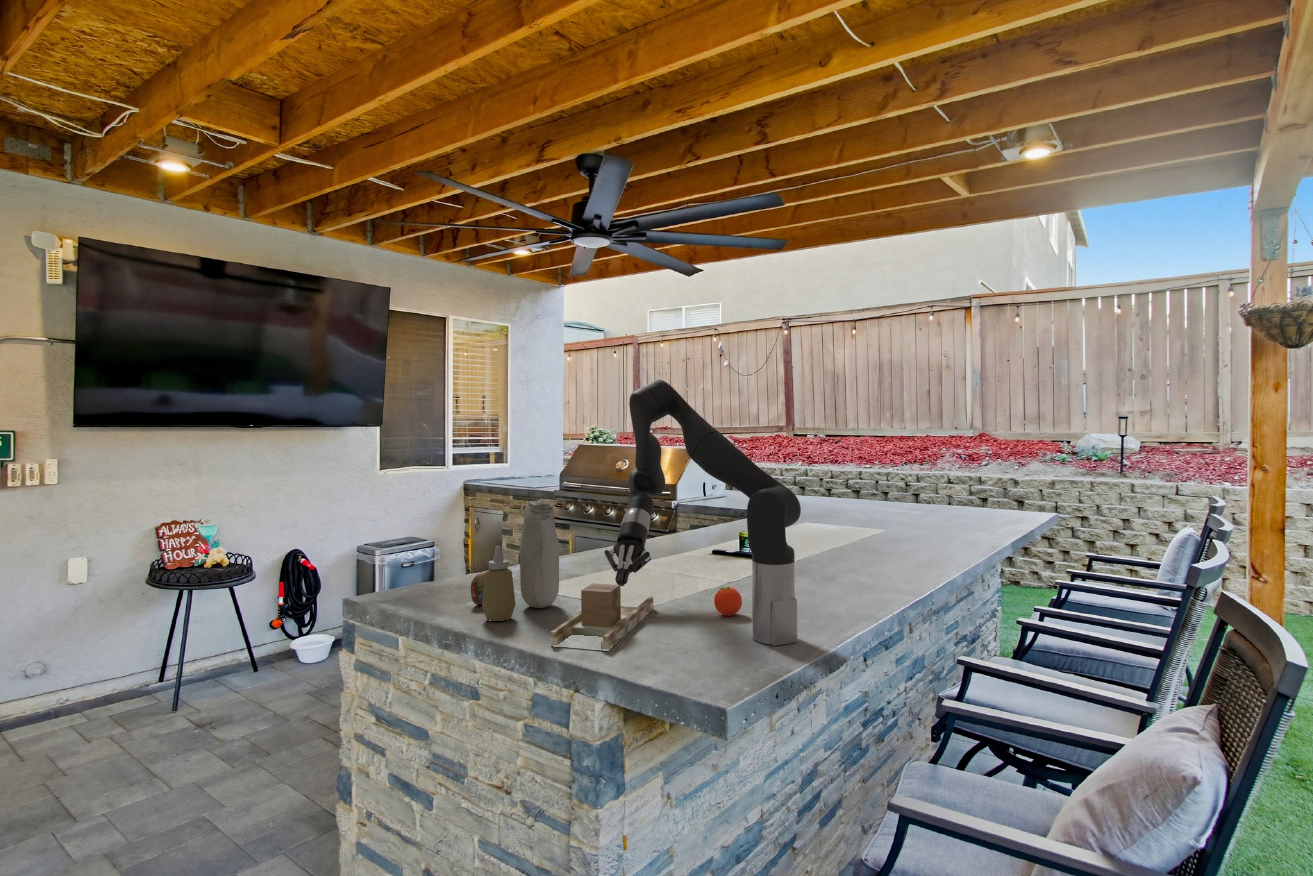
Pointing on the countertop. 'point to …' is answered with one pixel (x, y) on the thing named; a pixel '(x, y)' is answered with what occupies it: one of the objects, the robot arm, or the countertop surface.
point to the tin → (477, 588)
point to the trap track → (610, 635)
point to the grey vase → (539, 556)
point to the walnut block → (600, 605)
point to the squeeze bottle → (498, 589)
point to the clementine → (727, 601)
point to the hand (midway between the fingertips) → (620, 584)
